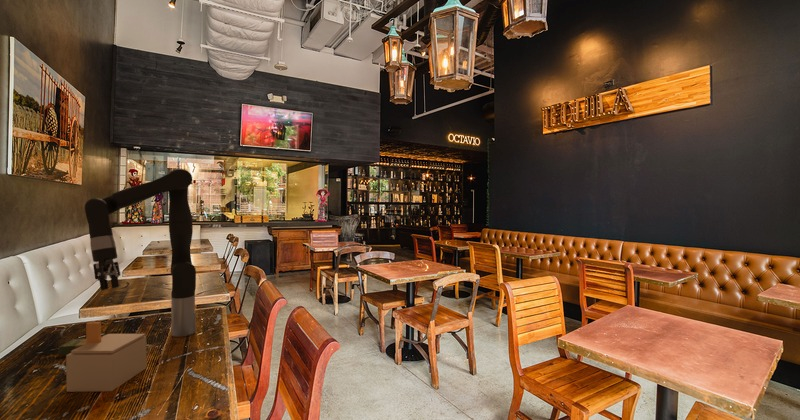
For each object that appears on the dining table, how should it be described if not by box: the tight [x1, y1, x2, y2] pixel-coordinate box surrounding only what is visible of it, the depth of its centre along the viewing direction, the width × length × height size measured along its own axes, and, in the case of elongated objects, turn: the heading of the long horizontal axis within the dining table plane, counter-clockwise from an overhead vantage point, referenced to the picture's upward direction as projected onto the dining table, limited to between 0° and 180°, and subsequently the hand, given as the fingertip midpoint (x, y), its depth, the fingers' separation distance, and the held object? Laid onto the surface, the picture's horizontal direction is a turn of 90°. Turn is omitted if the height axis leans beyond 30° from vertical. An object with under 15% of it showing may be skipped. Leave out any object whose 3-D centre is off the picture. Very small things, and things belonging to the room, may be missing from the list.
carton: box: [58, 337, 87, 357], centre depth 144 cm, size 8×16×4 cm, turn 100°
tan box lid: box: [71, 321, 146, 354], centre depth 121 cm, size 14×15×7 cm
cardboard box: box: [65, 335, 147, 393], centre depth 121 cm, size 14×16×12 cm
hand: (110, 288), depth 141 cm, fingers open, 8 cm apart
